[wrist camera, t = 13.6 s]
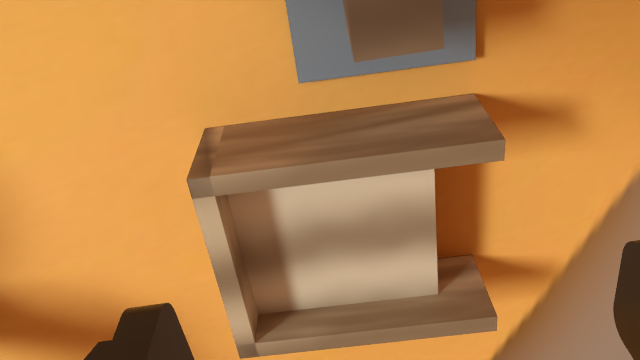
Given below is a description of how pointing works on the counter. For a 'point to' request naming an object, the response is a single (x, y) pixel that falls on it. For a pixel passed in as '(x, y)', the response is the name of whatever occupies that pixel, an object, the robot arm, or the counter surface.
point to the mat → (335, 50)
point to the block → (393, 27)
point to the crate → (341, 225)
